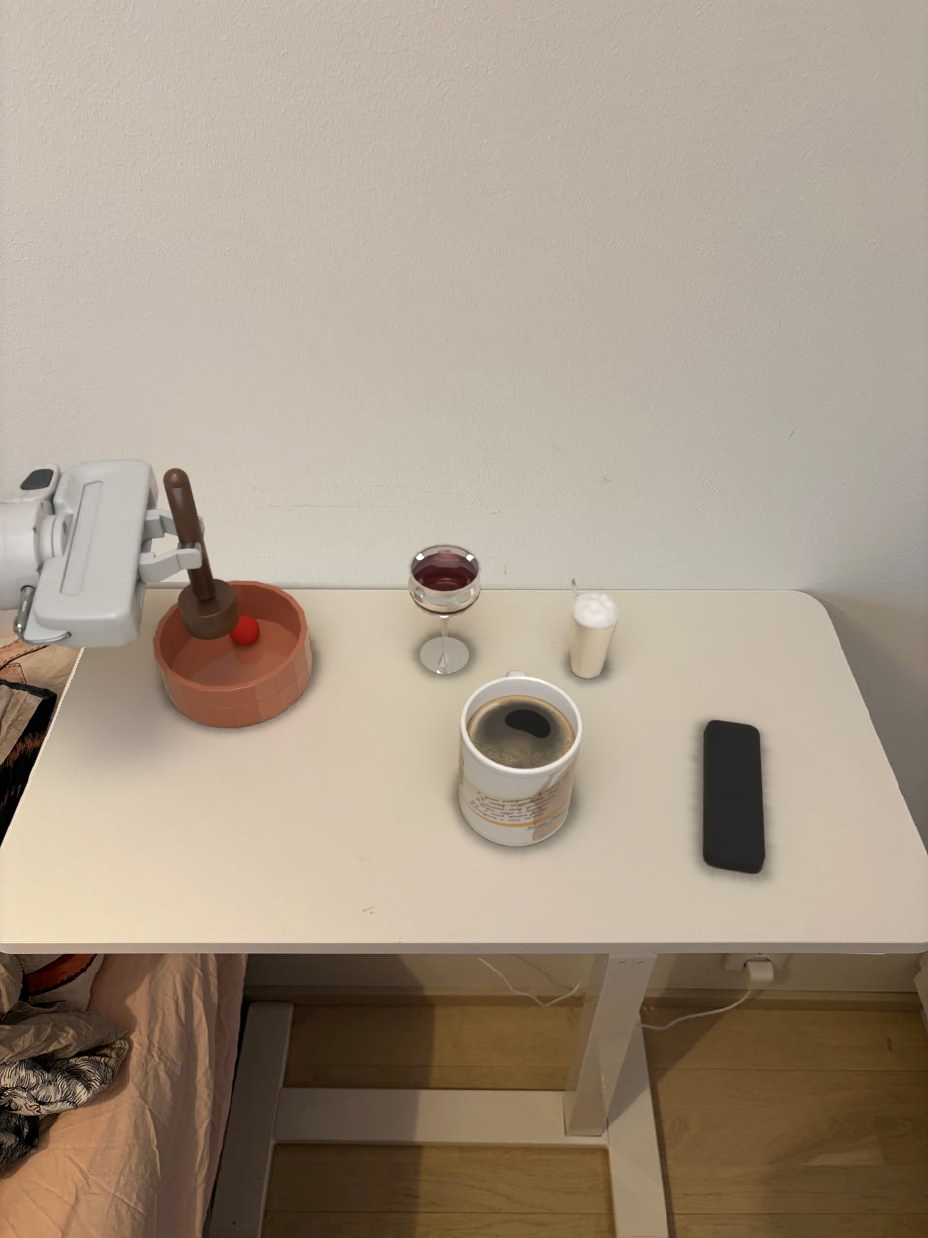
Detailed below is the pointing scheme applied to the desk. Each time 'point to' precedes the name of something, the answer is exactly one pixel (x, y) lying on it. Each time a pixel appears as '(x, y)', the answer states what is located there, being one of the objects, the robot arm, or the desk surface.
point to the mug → (518, 759)
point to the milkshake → (591, 631)
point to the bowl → (237, 661)
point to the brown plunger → (199, 569)
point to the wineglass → (444, 598)
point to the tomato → (245, 631)
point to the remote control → (733, 797)
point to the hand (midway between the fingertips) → (202, 540)
